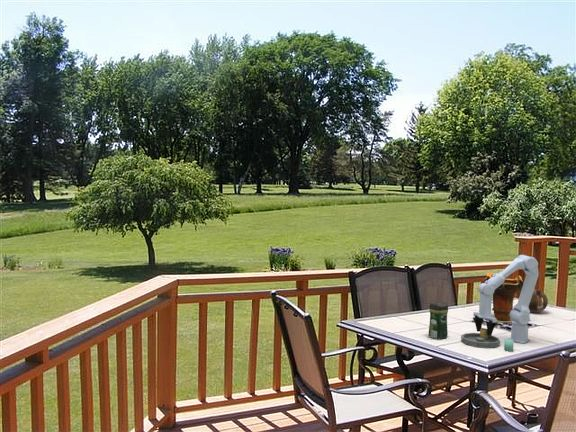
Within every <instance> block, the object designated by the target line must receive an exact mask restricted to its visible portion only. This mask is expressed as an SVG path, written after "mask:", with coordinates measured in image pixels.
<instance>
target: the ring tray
mask: <svg viewBox="0 0 576 432" xmlns="http://www.w3.org/2000/svg"><path fill="white" fill-rule="evenodd" d="M460 338H461V343H463V344H464V345H467V346H469V347H472V348H473V347H474V348H481V349H494V348H498V347H499V346H500V344H501V340H500V338H499V337H497V336H495V335H493V334H492V335H488V340H485V338H483V337H480V332H479V333H478V332H467V333H463V334H461V335H460Z"/></svg>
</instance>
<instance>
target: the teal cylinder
mask: <svg viewBox="0 0 576 432" xmlns="http://www.w3.org/2000/svg"><path fill="white" fill-rule="evenodd" d="M503 343H504V344H503V345H504V346H503V348H504V349H503V351H504V350H505V351H504V352H507V351H508V352H509V353H512V352H514V341H513V340H510V338H506V339H504V342H503Z"/></svg>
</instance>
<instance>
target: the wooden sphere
mask: <svg viewBox="0 0 576 432" xmlns="http://www.w3.org/2000/svg"><path fill="white" fill-rule="evenodd" d="M548 301H549V300H548V297H547V295H546V293H544V291H542V290H540V289H537V288H534V291H533V294H532V297H531V301H530V304H529V310H530V313H532V314H534V313H535V314H537V313H541V312H543V311H545V310H546V308H547V307H548V303H549V302H548Z"/></svg>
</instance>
